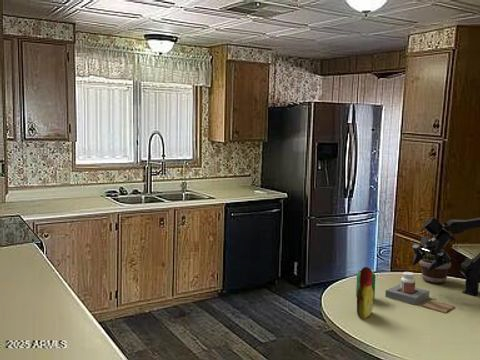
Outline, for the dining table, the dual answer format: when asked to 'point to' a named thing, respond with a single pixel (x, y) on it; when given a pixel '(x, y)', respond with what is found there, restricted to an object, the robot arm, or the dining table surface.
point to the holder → (407, 295)
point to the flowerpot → (436, 274)
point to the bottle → (365, 294)
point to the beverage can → (371, 283)
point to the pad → (438, 306)
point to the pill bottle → (408, 283)
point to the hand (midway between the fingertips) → (420, 267)
